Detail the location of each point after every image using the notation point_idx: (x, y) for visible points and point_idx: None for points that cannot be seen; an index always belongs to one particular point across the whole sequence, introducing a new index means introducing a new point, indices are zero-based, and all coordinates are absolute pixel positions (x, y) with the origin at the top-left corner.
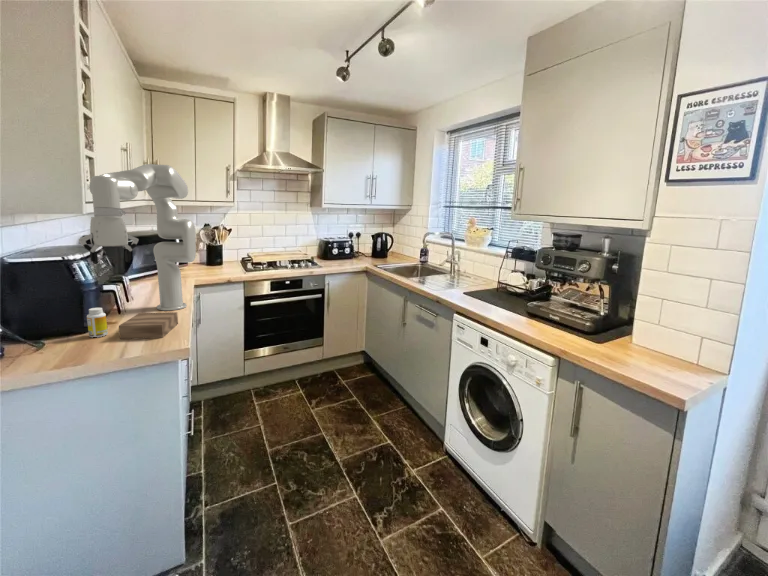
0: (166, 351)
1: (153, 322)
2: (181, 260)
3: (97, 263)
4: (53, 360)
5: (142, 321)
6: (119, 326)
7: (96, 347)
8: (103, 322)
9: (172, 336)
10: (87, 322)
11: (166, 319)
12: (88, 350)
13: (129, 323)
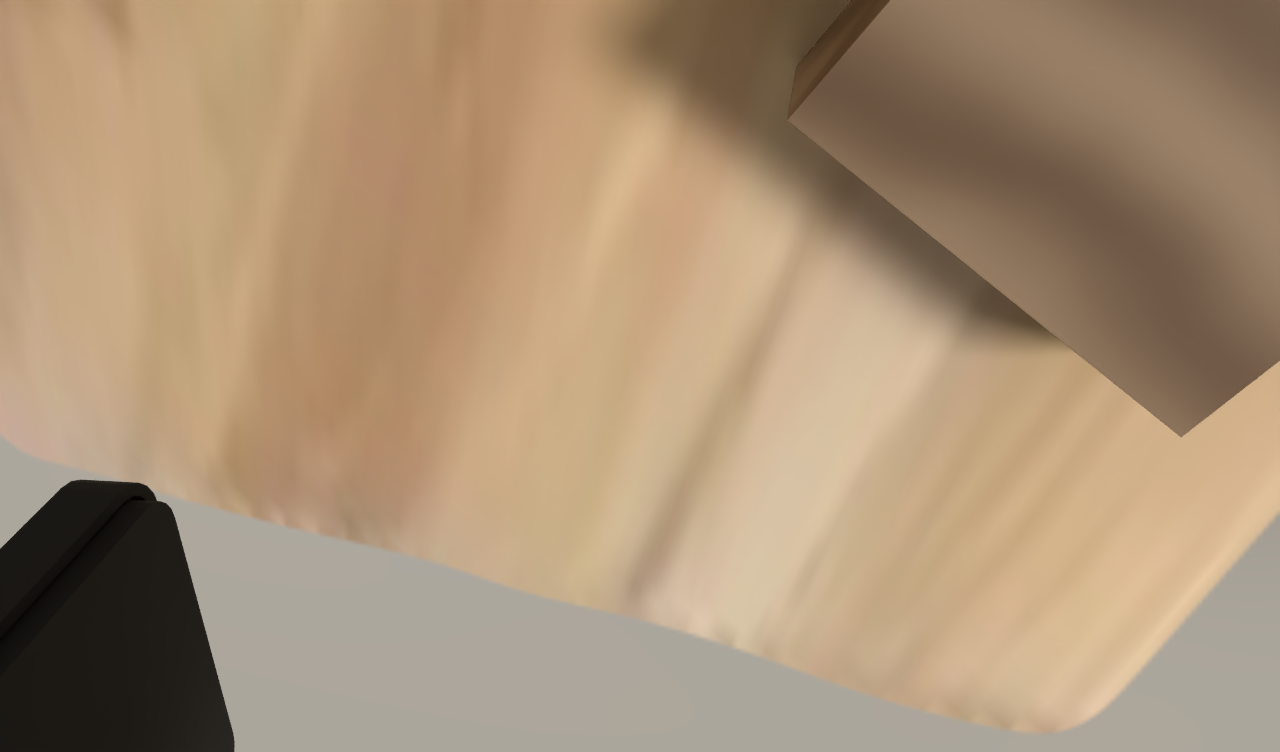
0: (942, 701)
1: (1177, 269)
2: None
3: (224, 744)
4: (215, 305)
5: (1108, 114)
6: (794, 124)
7: (537, 195)
8: None
9: None
10: None
11: None
12: (465, 237)
13: (933, 100)
